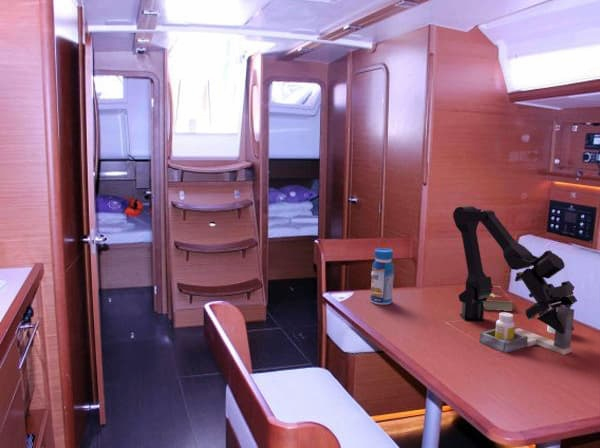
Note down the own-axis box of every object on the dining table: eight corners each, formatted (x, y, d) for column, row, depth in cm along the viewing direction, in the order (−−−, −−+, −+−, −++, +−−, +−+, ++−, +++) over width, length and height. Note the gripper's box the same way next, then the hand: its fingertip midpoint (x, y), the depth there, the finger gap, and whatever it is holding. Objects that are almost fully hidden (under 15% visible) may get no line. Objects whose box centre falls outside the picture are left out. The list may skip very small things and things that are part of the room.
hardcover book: (500, 295, 219) (501, 285, 218) (513, 312, 198) (514, 301, 198) (469, 293, 221) (470, 283, 220) (479, 310, 200) (480, 299, 199)
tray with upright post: (479, 342, 168) (483, 301, 166) (515, 331, 178) (519, 293, 175) (535, 364, 152) (540, 320, 150) (571, 351, 162) (576, 310, 160)
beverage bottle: (394, 305, 201) (397, 252, 198) (371, 305, 201) (373, 252, 198) (390, 298, 210) (393, 247, 206) (368, 298, 210) (371, 247, 206)
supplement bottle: (512, 343, 168) (515, 312, 167) (513, 349, 163) (516, 318, 161) (494, 340, 170) (497, 310, 168) (494, 347, 165) (497, 316, 163)
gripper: (538, 276, 157) (571, 325, 150) (574, 269, 167) (606, 314, 160) (512, 295, 165) (541, 342, 158) (548, 287, 175) (577, 331, 168)
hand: (568, 332), depth 160 cm, fingers open, 4 cm apart
